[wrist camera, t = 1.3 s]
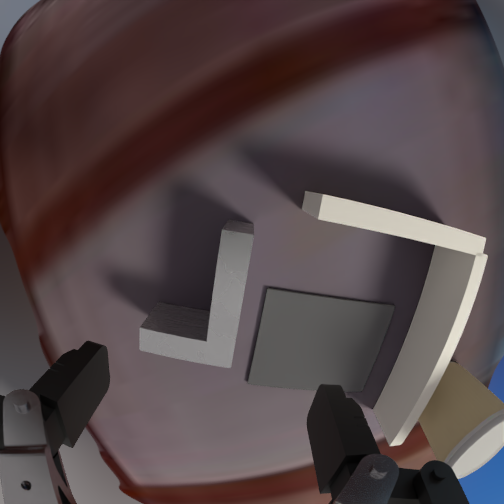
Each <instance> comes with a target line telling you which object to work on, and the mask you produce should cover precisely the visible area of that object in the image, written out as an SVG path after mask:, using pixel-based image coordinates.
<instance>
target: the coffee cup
mask: <svg viewBox="0 0 504 504" xmlns="http://www.w3.org/2000/svg"><path fill="white" fill-rule="evenodd" d="M418 420H419V422H420V424H421V427H422V429H423V431H424V433H425V435H426V437H427V439H428V441H429V443H430V446H431V448H432V450H433V452H434V454H435V456H436V459H437V461H442V462H444V463H446V464H448V465H449V466H450V467H451V468H452V469H453V471H454V473H455V475H456V477H457V479H460V478H462V477H465V476H467V475H469V474H470V473H472V472H474V471H476V470H477V469H479V468H480V467H481V466H483V465H484V464H485V463H486V462H488V461H489V460H490V459H491V458H492V457H493V456H494V455H495V454H497V452H498V451H499V450H500V449H501V448H502V447H503V446H504V403H503V402H502V401H501V400H500V399H498V397H496V396H495V395H494V394H493V393H492V392H491V391H490V390H488V388H486V387H485V386H484V385H483V384H482V383H481V382H480V381H478V380H477V379H476V378H475V377H474V376H473V375H471V374H470V373H469V372H468V371H467V370H466V369H464V368H463V367H462V366H460V365H459V364H458V363H456V362H449V364H448V366H447V368H446V370H445V372H444V374H443V376H442V378H441V380H440V382H439V384H438V386H437V387H436V389H435V391H434V393H433V395H432V396H431V398H430V400H429V402H428V404H427V405H426V407H425V409H424V410H423V412H422V414H421V415H420V417H419V419H418Z"/></svg>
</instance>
